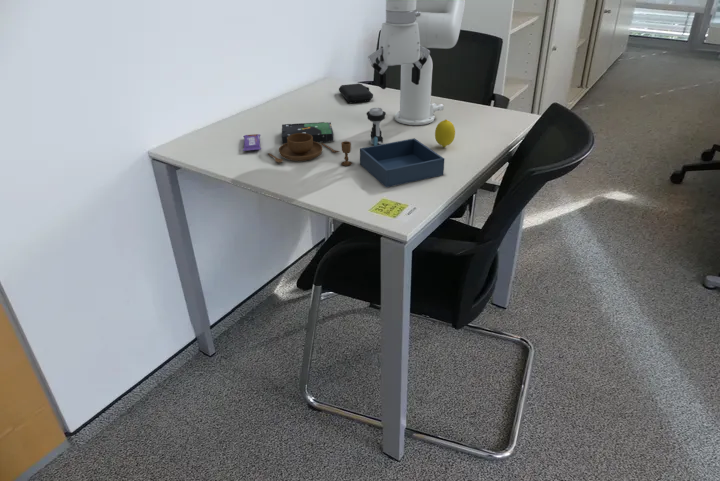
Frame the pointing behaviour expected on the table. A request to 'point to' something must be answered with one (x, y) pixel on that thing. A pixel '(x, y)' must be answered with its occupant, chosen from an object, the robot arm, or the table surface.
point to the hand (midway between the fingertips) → (398, 85)
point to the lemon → (445, 133)
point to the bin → (401, 162)
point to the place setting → (307, 149)
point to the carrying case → (355, 93)
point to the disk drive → (309, 131)
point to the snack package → (251, 142)
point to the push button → (376, 125)
